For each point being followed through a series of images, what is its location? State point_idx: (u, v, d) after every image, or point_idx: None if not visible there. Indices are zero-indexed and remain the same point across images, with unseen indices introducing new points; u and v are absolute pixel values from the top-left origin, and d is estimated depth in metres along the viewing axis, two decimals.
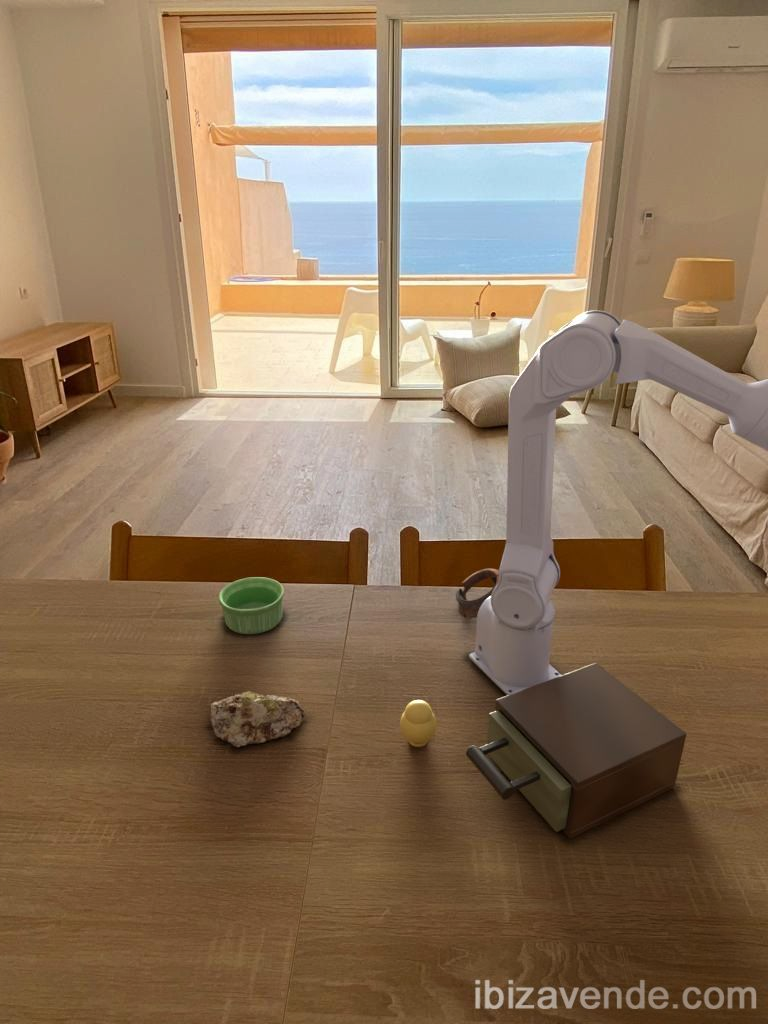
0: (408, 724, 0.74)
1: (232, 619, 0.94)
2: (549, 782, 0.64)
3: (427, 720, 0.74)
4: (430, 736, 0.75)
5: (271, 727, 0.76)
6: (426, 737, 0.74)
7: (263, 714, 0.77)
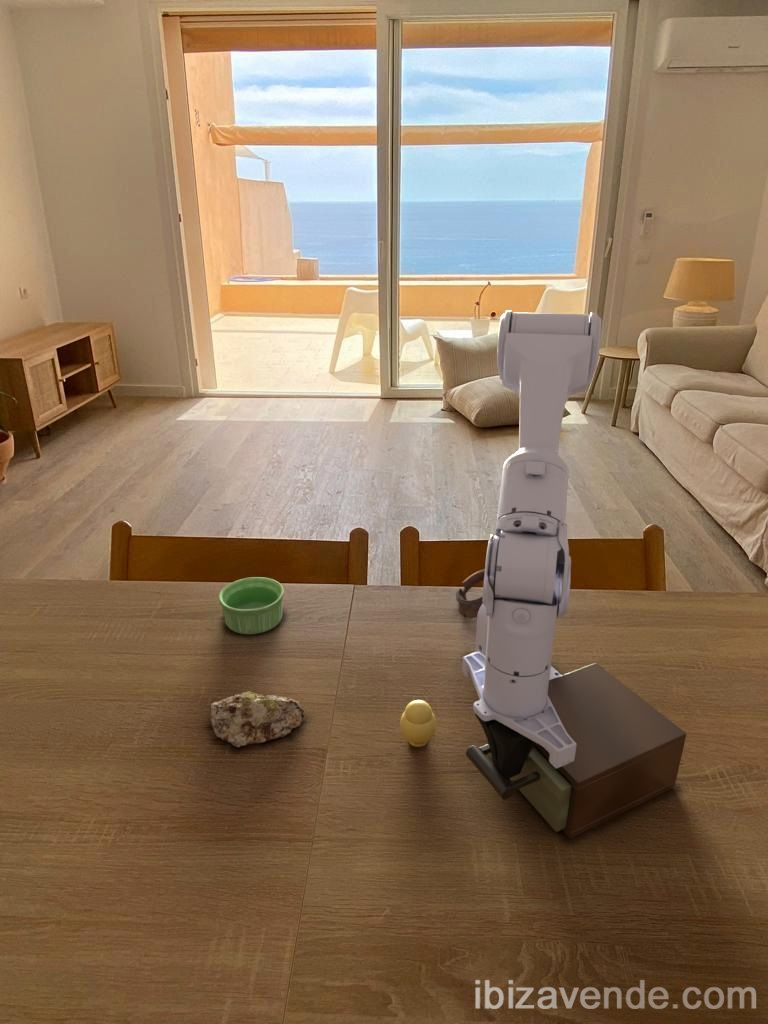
0: (408, 724, 0.74)
1: (232, 619, 0.94)
2: (549, 782, 0.64)
3: (427, 720, 0.74)
4: (430, 736, 0.75)
5: (271, 727, 0.76)
6: (426, 737, 0.74)
7: (263, 714, 0.77)
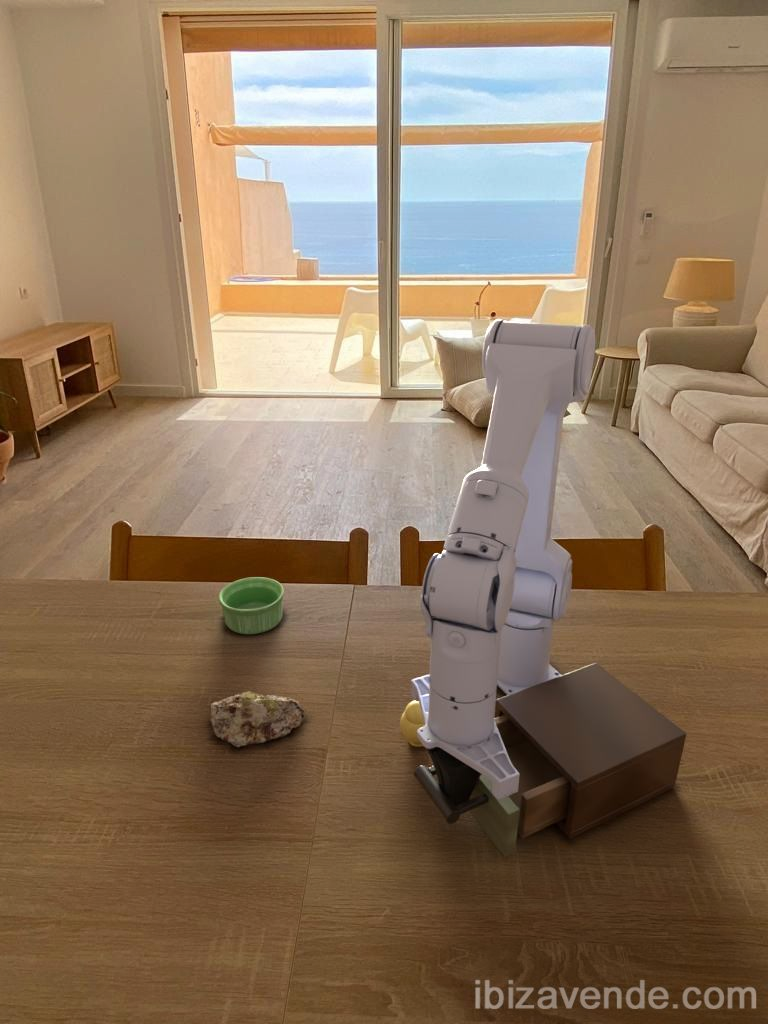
0: (408, 724, 0.74)
1: (232, 619, 0.94)
2: (497, 805, 0.61)
3: None
4: None
5: (271, 727, 0.76)
6: None
7: (263, 714, 0.77)
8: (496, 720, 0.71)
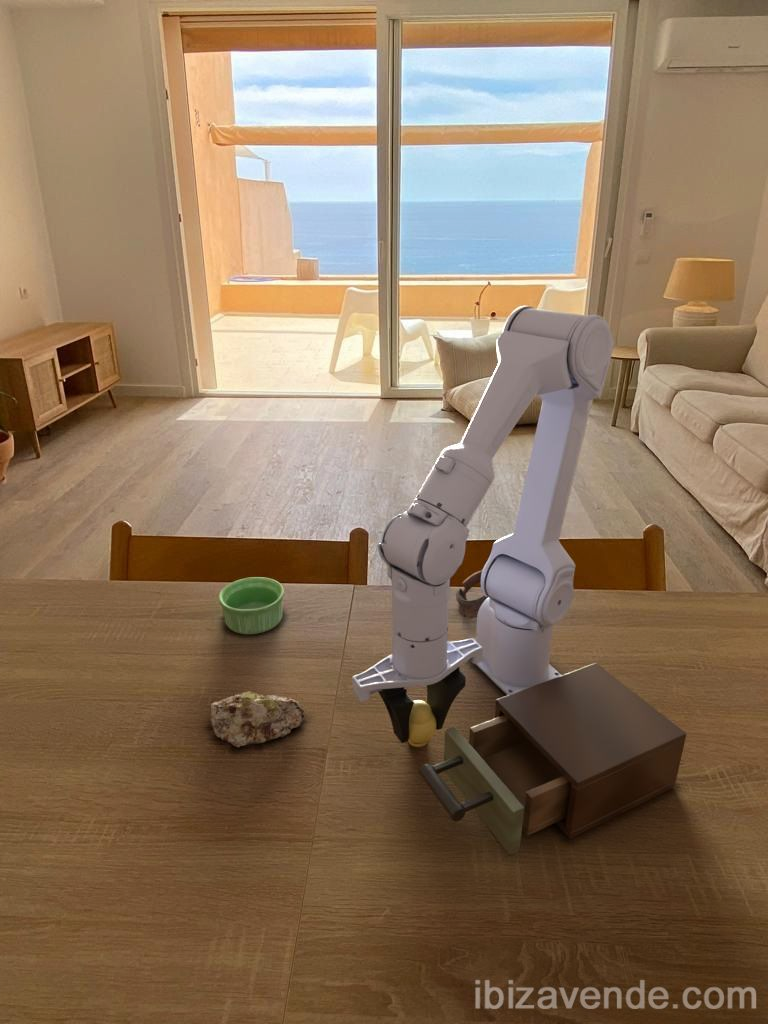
0: None
1: (232, 619, 0.94)
2: (502, 803, 0.61)
3: (426, 720, 0.74)
4: (430, 736, 0.75)
5: (271, 727, 0.76)
6: (426, 737, 0.74)
7: (263, 714, 0.77)
8: (500, 718, 0.71)
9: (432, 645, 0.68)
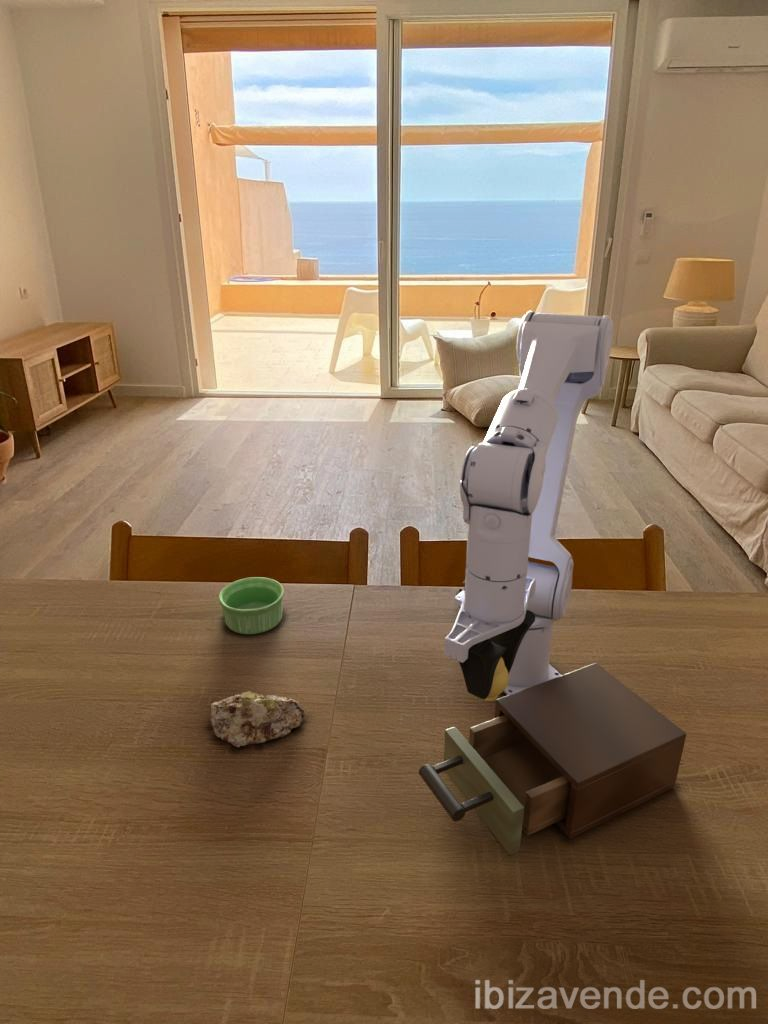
0: None
1: (232, 619, 0.94)
2: (502, 803, 0.61)
3: (503, 668, 0.69)
4: (507, 684, 0.70)
5: (271, 727, 0.76)
6: (505, 686, 0.70)
7: (263, 714, 0.77)
8: (500, 718, 0.71)
9: (522, 581, 0.64)
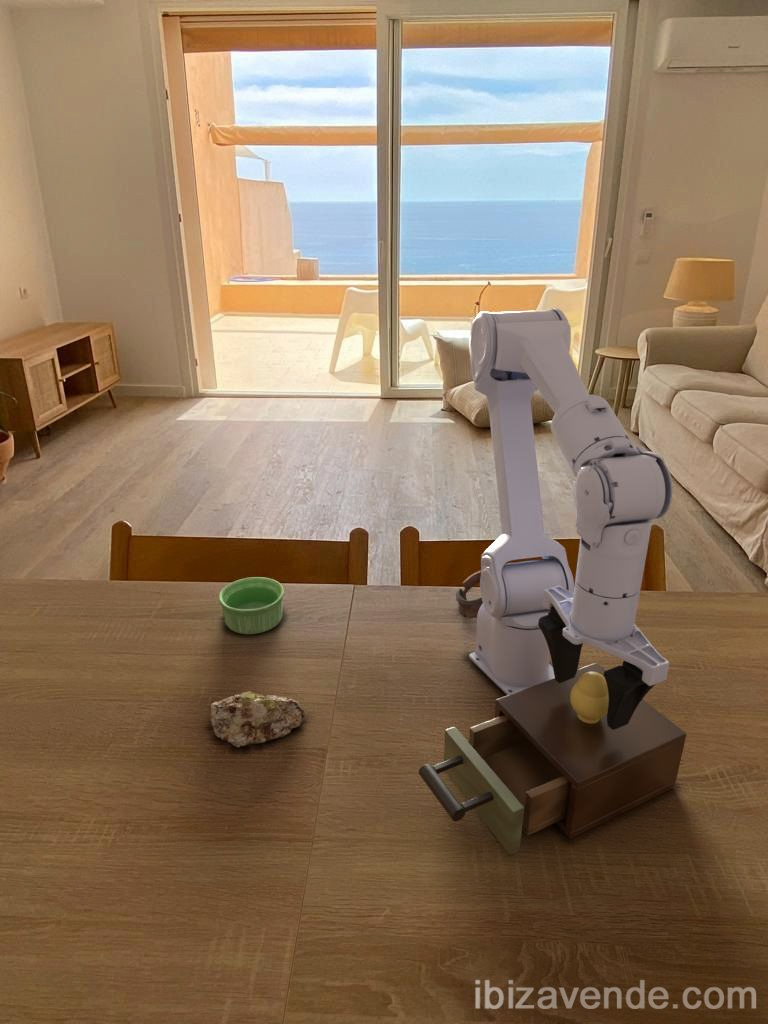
0: (607, 697, 0.67)
1: (232, 619, 0.94)
2: (502, 803, 0.61)
3: None
4: None
5: (271, 727, 0.76)
6: None
7: (263, 714, 0.77)
8: (500, 718, 0.71)
9: None
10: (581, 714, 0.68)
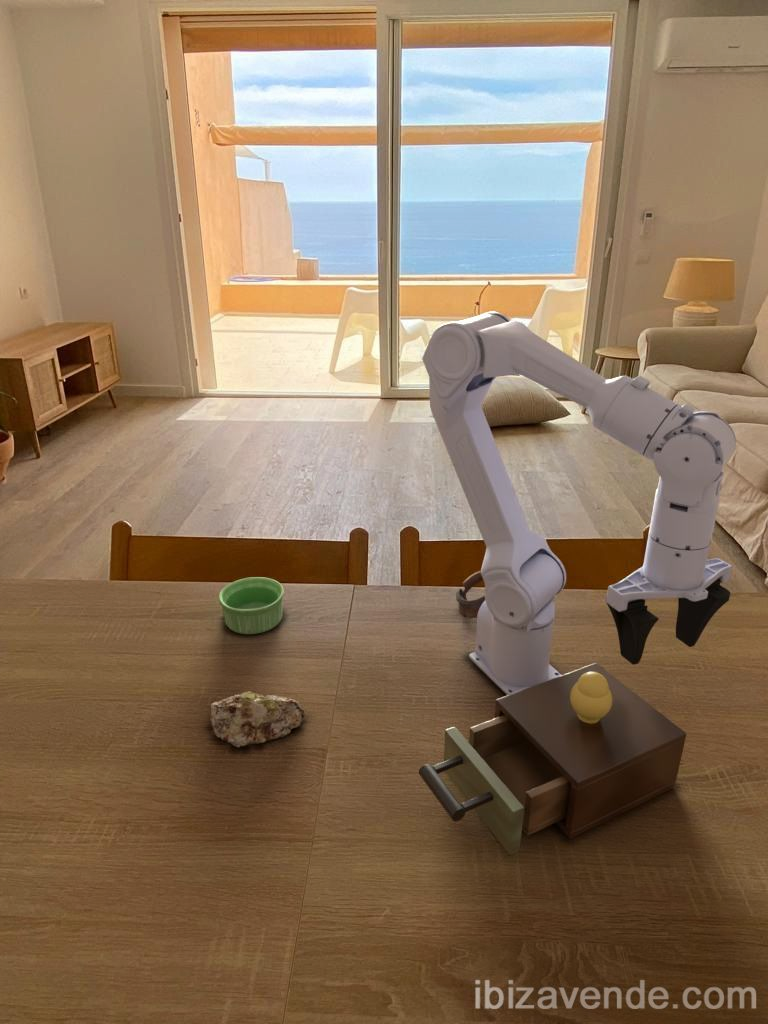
0: (607, 697, 0.67)
1: (232, 619, 0.94)
2: (502, 803, 0.61)
3: None
4: None
5: (271, 727, 0.76)
6: None
7: (263, 714, 0.77)
8: (500, 718, 0.71)
9: None
10: (581, 714, 0.68)
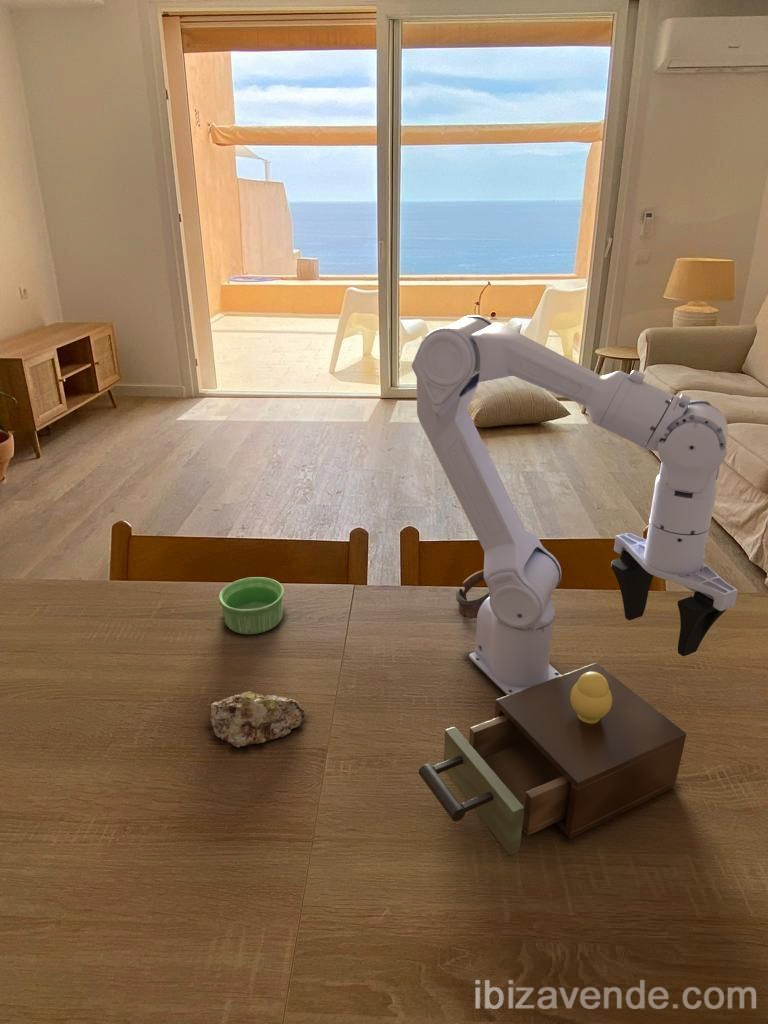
0: (607, 697, 0.67)
1: (232, 619, 0.94)
2: (502, 803, 0.61)
3: None
4: None
5: (271, 727, 0.76)
6: None
7: (263, 714, 0.77)
8: (500, 718, 0.71)
9: (656, 532, 0.70)
10: (581, 714, 0.68)
